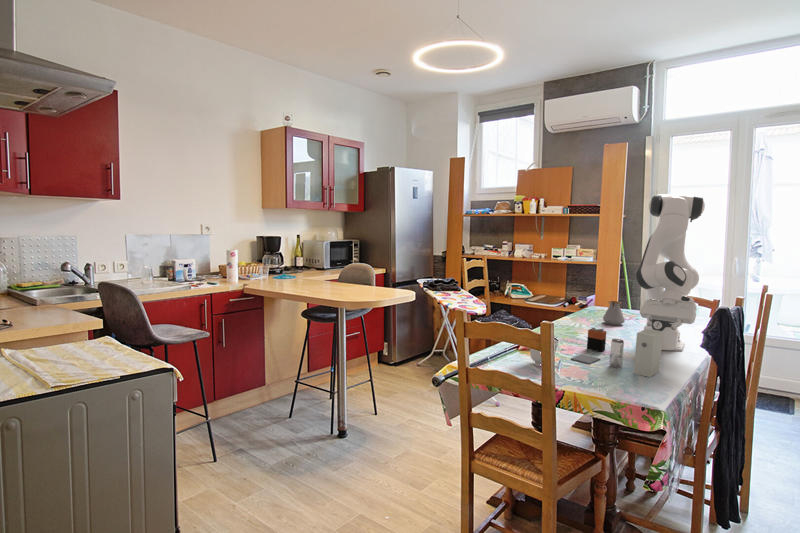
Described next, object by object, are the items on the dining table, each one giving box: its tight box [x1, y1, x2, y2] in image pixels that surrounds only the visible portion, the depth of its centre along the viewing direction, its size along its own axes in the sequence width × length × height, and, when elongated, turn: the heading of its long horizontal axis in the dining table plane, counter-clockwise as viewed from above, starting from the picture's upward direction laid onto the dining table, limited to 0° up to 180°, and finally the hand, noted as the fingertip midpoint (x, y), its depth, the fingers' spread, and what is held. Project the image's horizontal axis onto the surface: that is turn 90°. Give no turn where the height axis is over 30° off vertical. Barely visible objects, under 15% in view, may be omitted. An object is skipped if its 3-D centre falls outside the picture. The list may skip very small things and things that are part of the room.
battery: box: [586, 327, 607, 353], centre depth 211 cm, size 4×7×10 cm, turn 45°
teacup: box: [529, 339, 560, 367], centre depth 188 cm, size 12×15×10 cm
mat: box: [570, 353, 601, 365], centre depth 196 cm, size 10×8×1 cm
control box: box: [633, 329, 663, 378], centre depth 180 cm, size 11×6×16 cm, turn 133°
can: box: [609, 338, 625, 369], centre depth 187 cm, size 5×5×11 cm
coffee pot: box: [602, 300, 626, 326], centre depth 262 cm, size 21×12×15 cm, turn 151°
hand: (660, 327), depth 188 cm, fingers open, 8 cm apart
